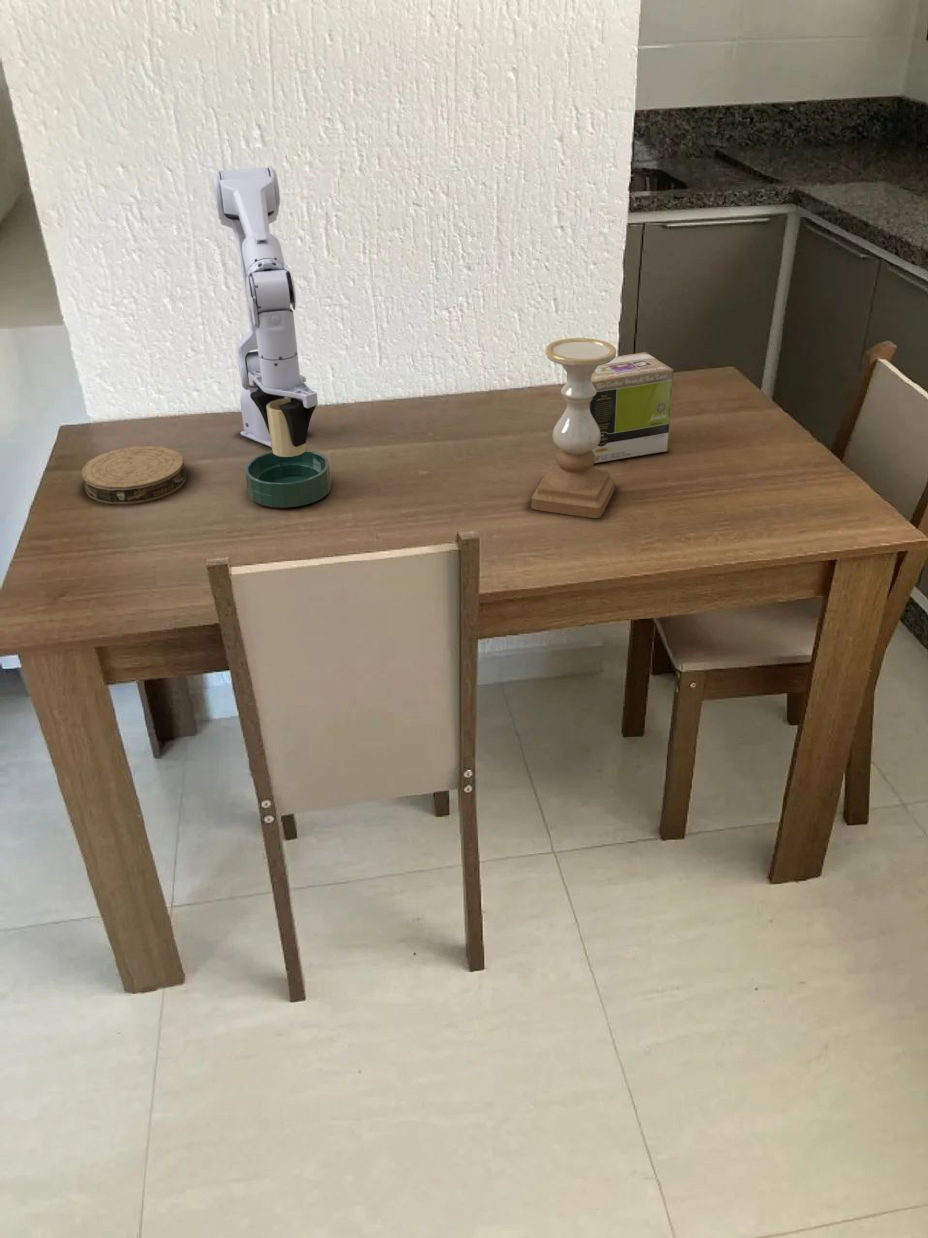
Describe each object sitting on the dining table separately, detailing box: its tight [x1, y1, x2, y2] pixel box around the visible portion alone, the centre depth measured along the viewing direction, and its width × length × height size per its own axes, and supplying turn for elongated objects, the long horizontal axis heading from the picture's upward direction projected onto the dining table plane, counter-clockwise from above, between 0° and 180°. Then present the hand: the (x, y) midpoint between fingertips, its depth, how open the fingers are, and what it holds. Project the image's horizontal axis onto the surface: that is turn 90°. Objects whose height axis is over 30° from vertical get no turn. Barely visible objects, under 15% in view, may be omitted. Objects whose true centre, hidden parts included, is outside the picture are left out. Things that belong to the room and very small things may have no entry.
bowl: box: [244, 449, 332, 509], centre depth 162 cm, size 13×13×4 cm
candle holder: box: [530, 337, 617, 519], centre depth 153 cm, size 11×11×24 cm
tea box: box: [565, 351, 674, 464], centre depth 171 cm, size 15×10×15 cm, turn 108°
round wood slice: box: [81, 445, 187, 505], centre depth 166 cm, size 16×16×3 cm
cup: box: [266, 398, 307, 457], centre depth 158 cm, size 5×5×8 cm
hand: (288, 439), depth 159 cm, fingers closed on cup, 5 cm apart
